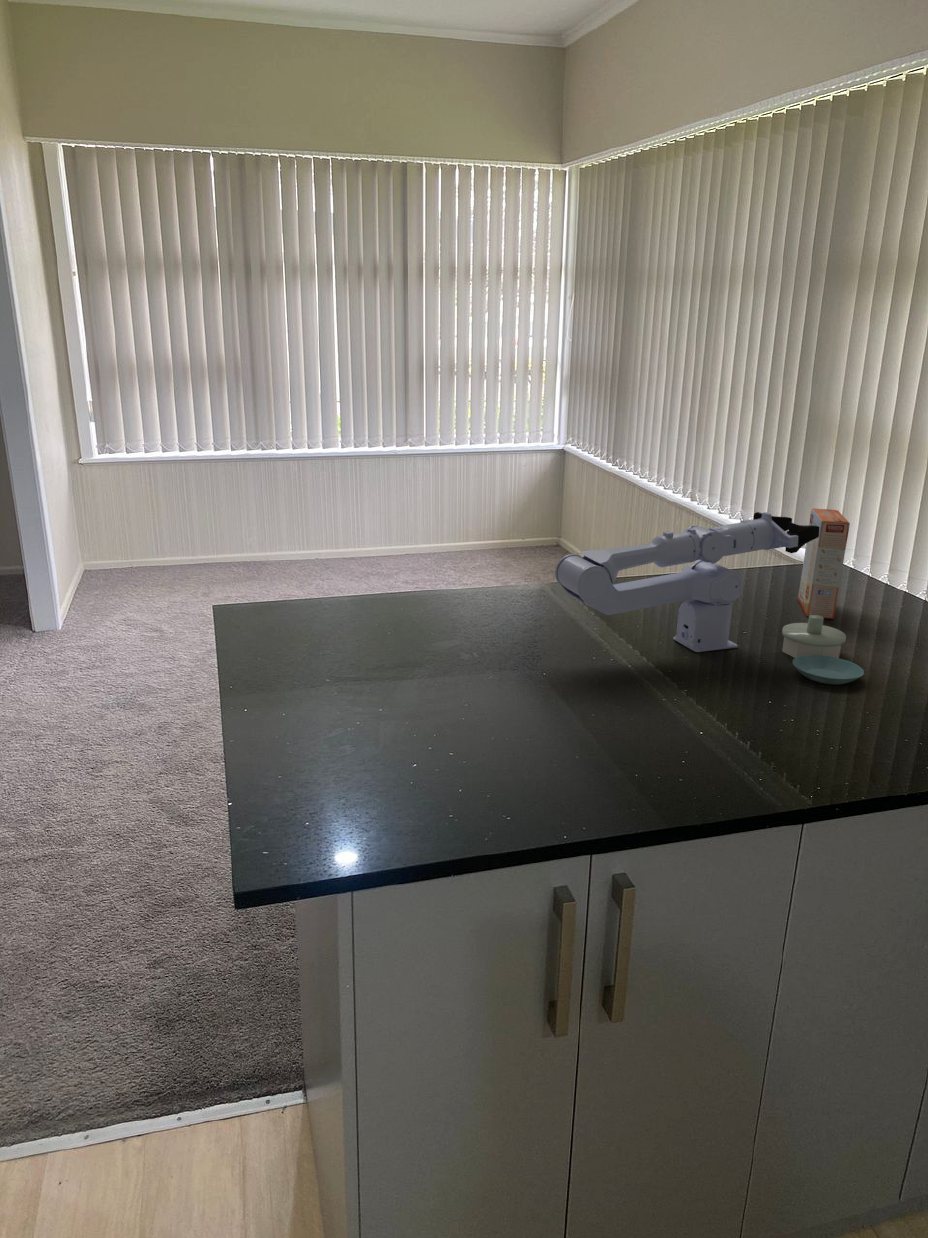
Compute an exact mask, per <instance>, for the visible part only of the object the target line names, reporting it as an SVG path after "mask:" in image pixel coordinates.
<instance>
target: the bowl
mask: <svg viewBox="0 0 928 1238" xmlns="http://www.w3.org/2000/svg"><path fill="white" fill-rule="evenodd" d="M841 649H842V644H841V645H838V646H830V647H823V646H812V645H806V644H802V643H798V642H795V641H792V640H790V639H788V638H786V637H785V636H783V642H782V650H781V651H782V653H784V654H787V655H789V656H790V657H792V658H793V659H795V658H797V657H799V656H805V655H822V656H830V657H835V658H840V654H841Z"/></svg>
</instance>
